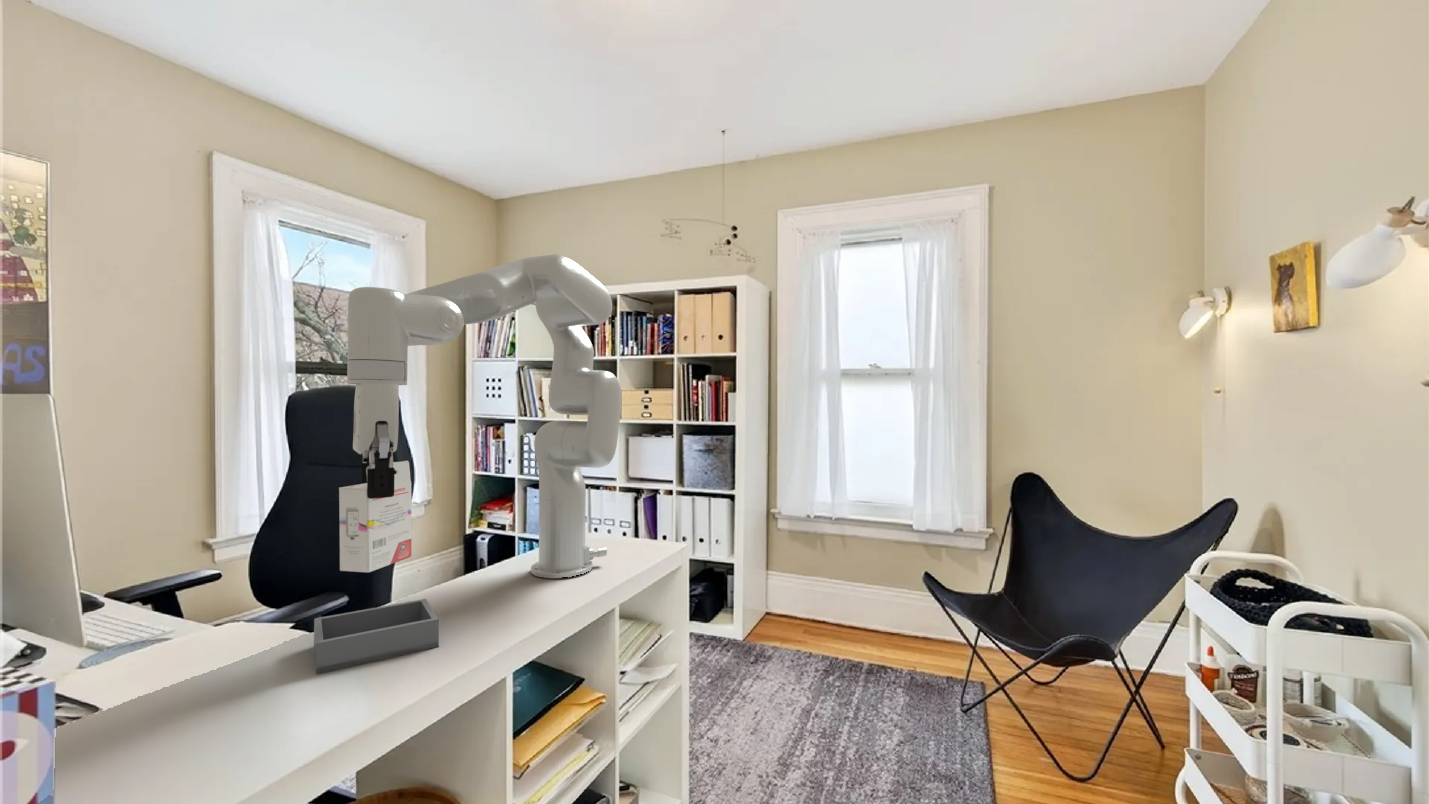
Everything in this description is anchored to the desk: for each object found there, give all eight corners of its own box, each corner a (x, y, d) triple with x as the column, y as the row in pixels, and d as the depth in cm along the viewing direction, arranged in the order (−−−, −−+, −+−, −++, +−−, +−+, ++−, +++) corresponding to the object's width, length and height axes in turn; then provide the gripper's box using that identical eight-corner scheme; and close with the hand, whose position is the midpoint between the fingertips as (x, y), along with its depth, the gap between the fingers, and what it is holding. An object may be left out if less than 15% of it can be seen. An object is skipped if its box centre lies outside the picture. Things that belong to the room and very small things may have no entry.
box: (425, 623, 92) (425, 598, 92) (438, 646, 83) (438, 619, 83) (314, 646, 83) (314, 618, 83) (315, 674, 74) (316, 643, 74)
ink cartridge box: (384, 555, 88) (384, 459, 88) (412, 557, 87) (413, 460, 87) (336, 571, 79) (337, 465, 79) (367, 573, 78) (368, 466, 78)
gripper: (343, 376, 88) (342, 488, 88) (352, 370, 74) (350, 504, 74) (398, 377, 92) (397, 484, 92) (416, 373, 78) (415, 498, 78)
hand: (376, 493), depth 83 cm, fingers closed on ink cartridge box, 9 cm apart
